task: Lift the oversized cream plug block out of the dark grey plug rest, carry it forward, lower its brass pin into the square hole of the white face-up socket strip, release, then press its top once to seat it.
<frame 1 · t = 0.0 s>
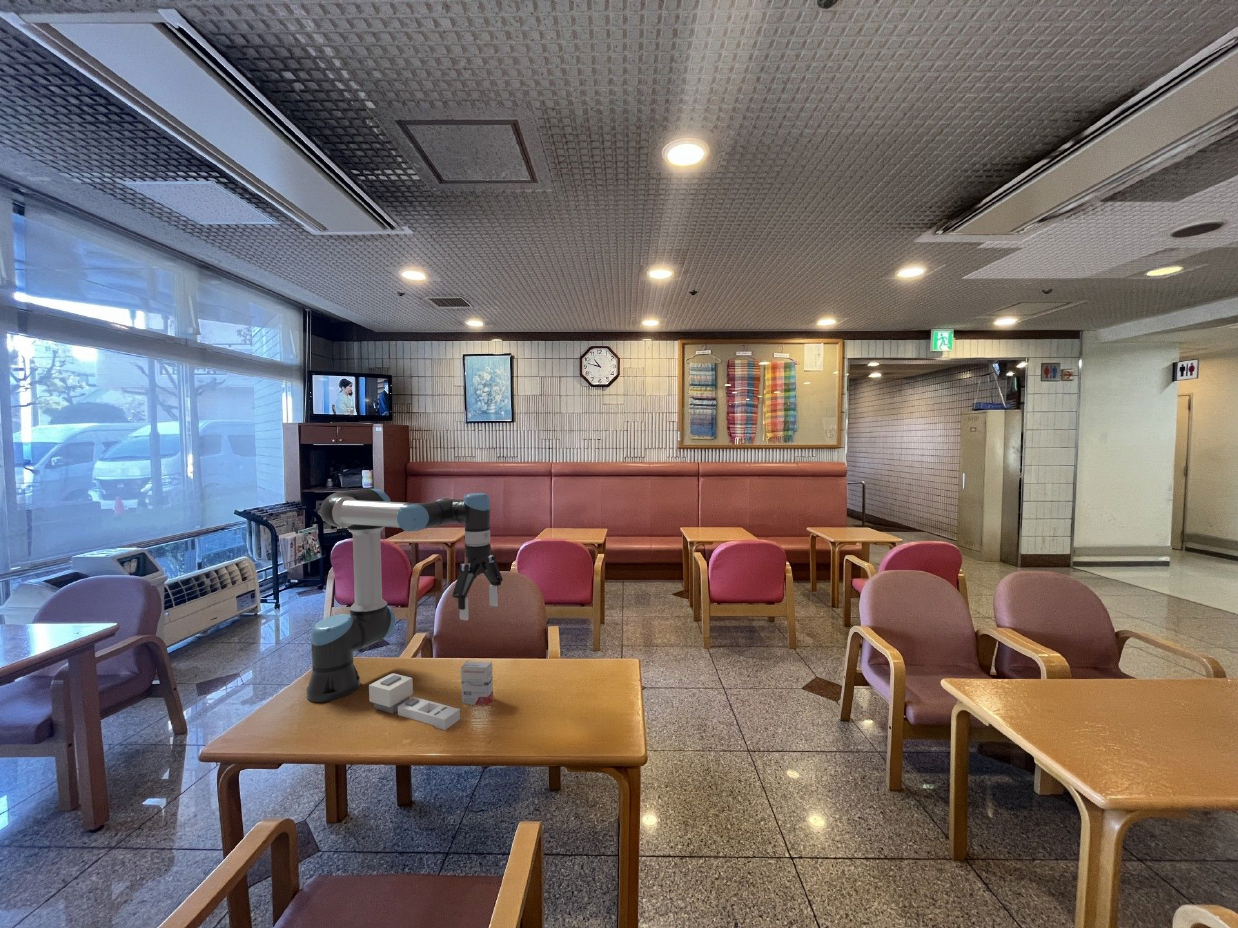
hand: (479, 612, 152), 28 cm above the table, fingers open, 13 cm apart
plug: (391, 705, 150), resting in plug rest
socket: (428, 717, 144), on the table
plug rest: (391, 707, 150), on the table
ink box: (477, 701, 153), on the table
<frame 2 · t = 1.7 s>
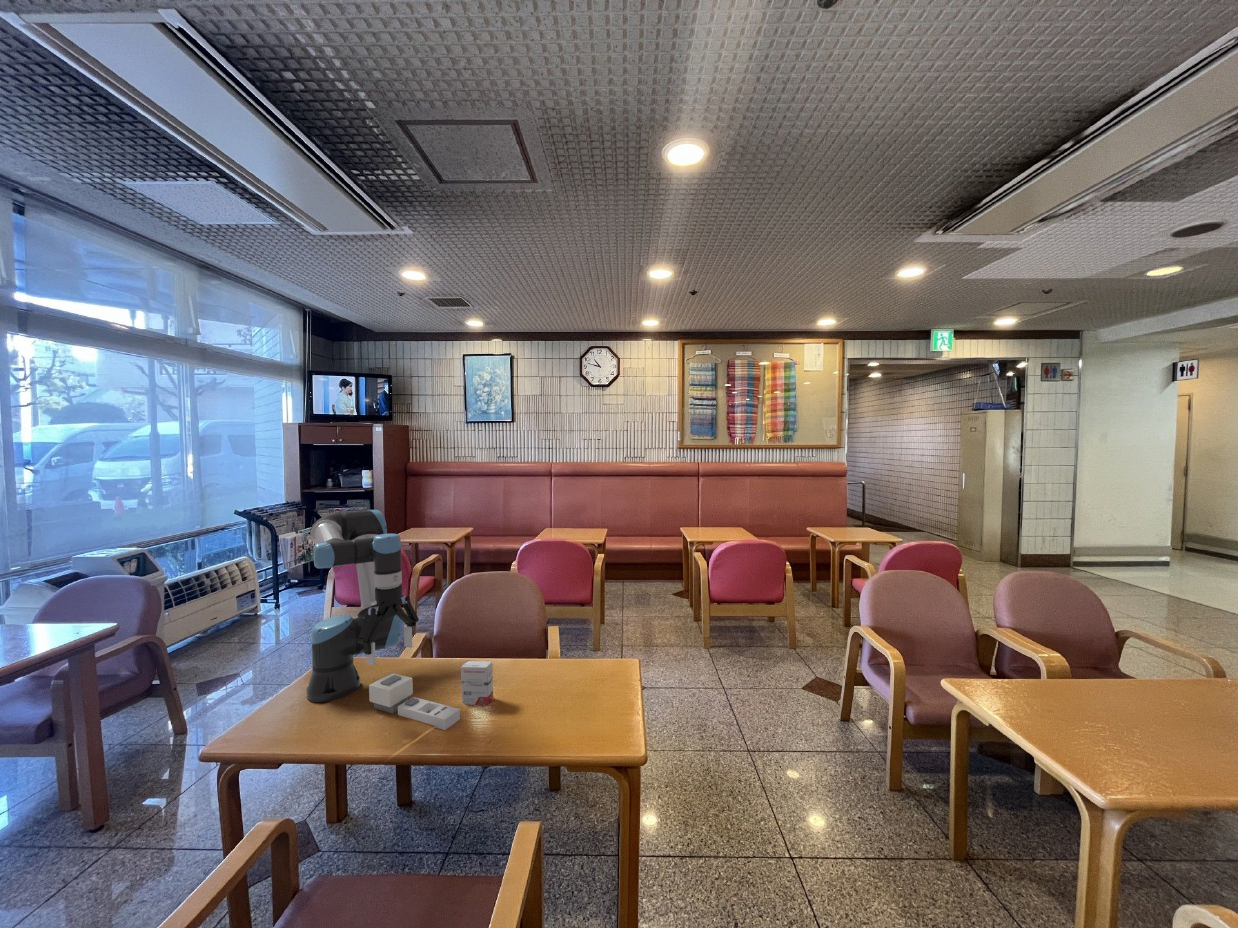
hand: (390, 655, 150), 16 cm above the table, fingers open, 13 cm apart
nothing on the table moved.
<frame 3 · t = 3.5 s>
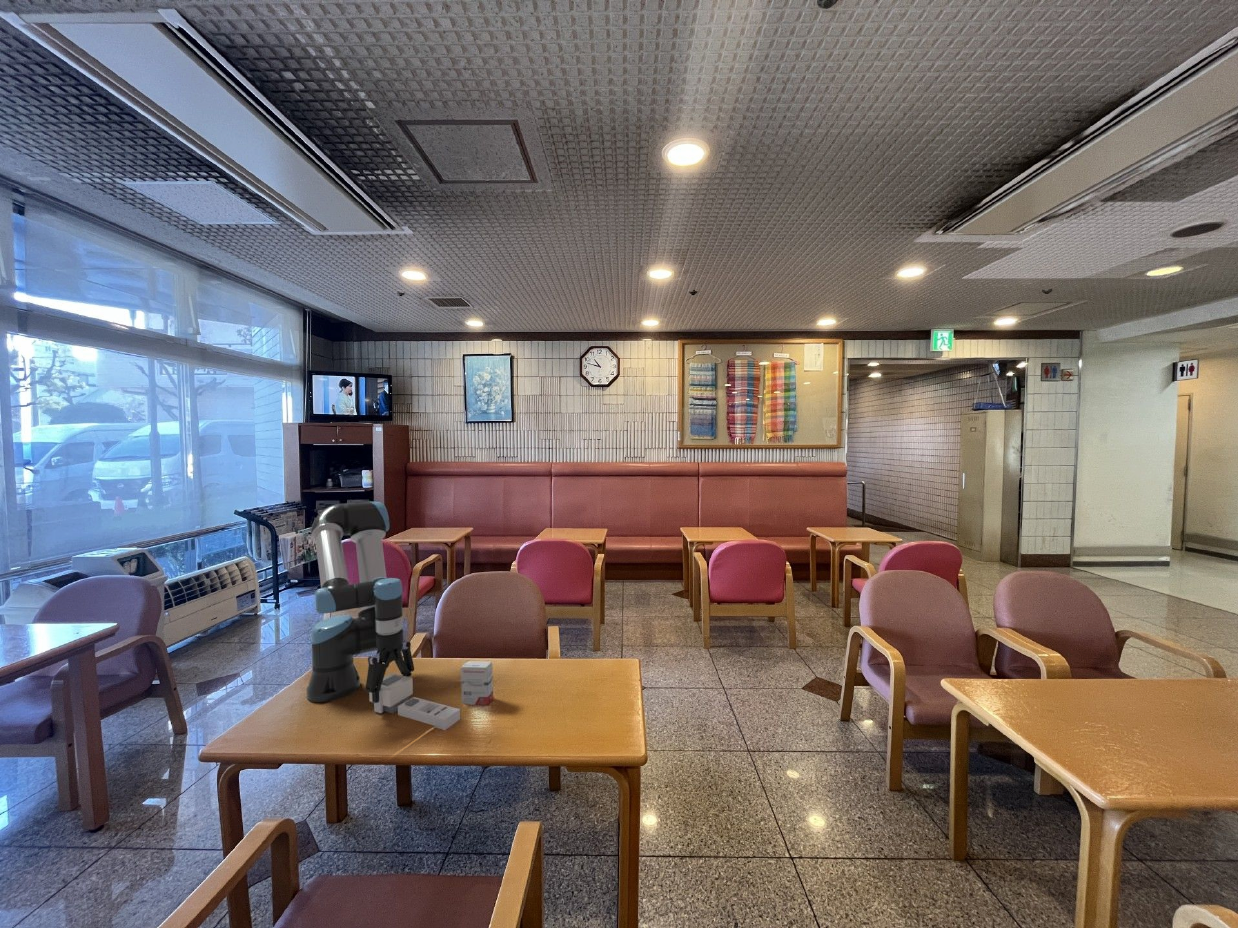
hand: (391, 704, 150), 1 cm above the table, fingers closed on plug, 8 cm apart
plug: (391, 705, 150), point 1 cm above the table, touching gripper, plug rest
everything else where it was.
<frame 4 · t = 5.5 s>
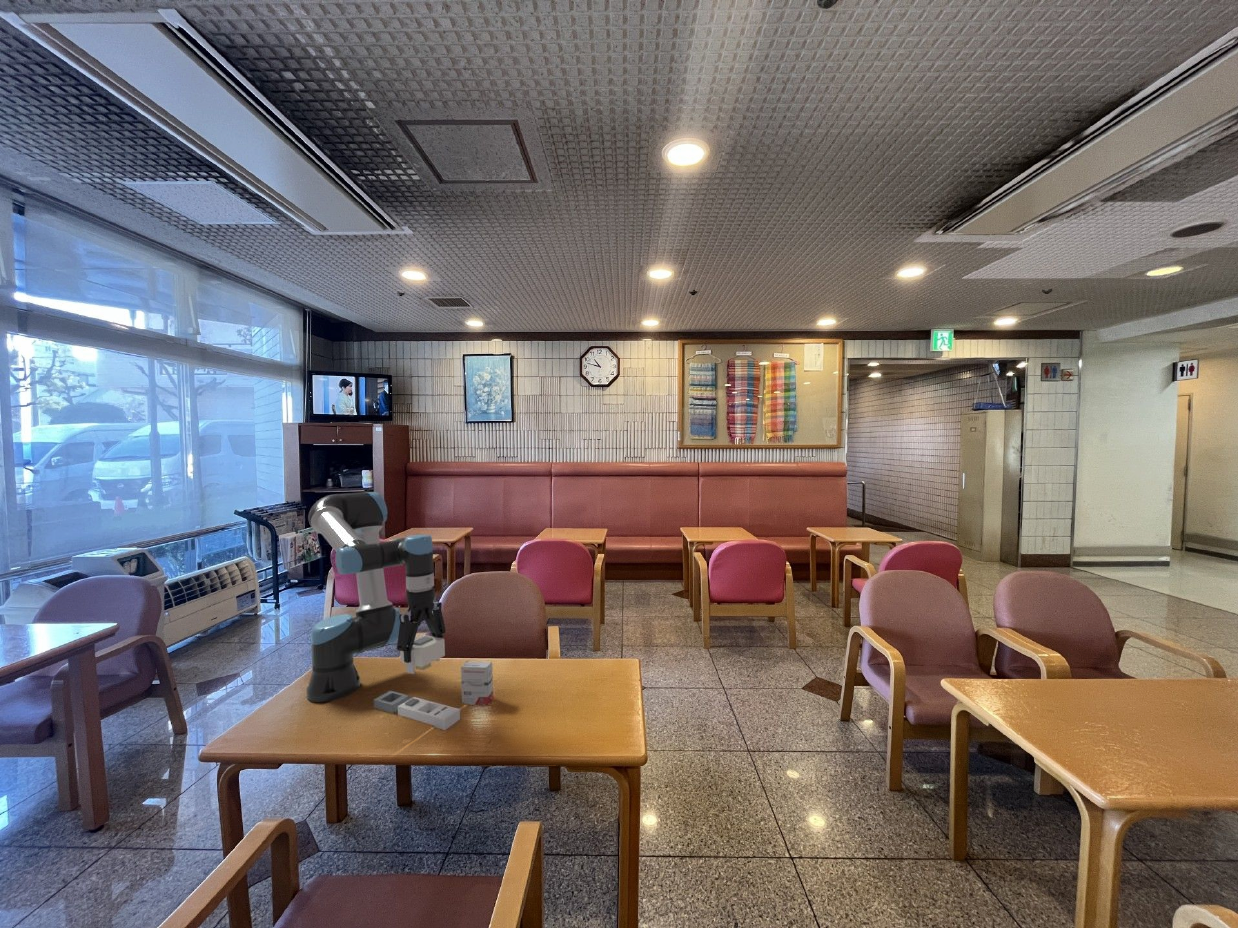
hand: (423, 665, 144), 15 cm above the table, fingers closed on plug, 8 cm apart
plug: (423, 667, 144), point 15 cm above the table, touching gripper
everything else where it was.
when the fingers open (2 cm above the table, at t = 7.7 s): plug drops 1 cm, resting on socket.
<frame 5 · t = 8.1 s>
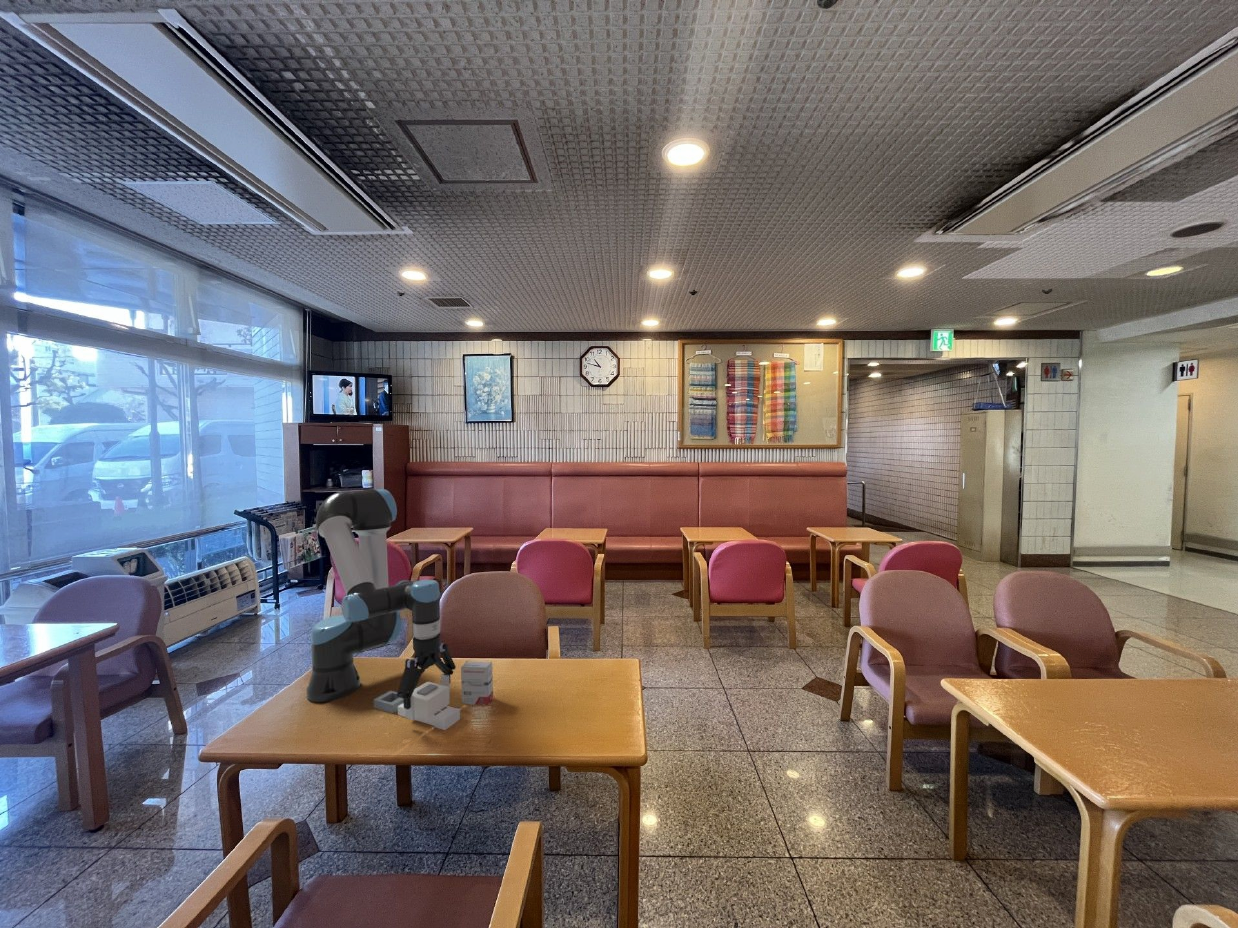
hand: (428, 706, 144), 3 cm above the table, fingers open, 13 cm apart
plug: (428, 715, 144), resting on socket
everything else where it was.
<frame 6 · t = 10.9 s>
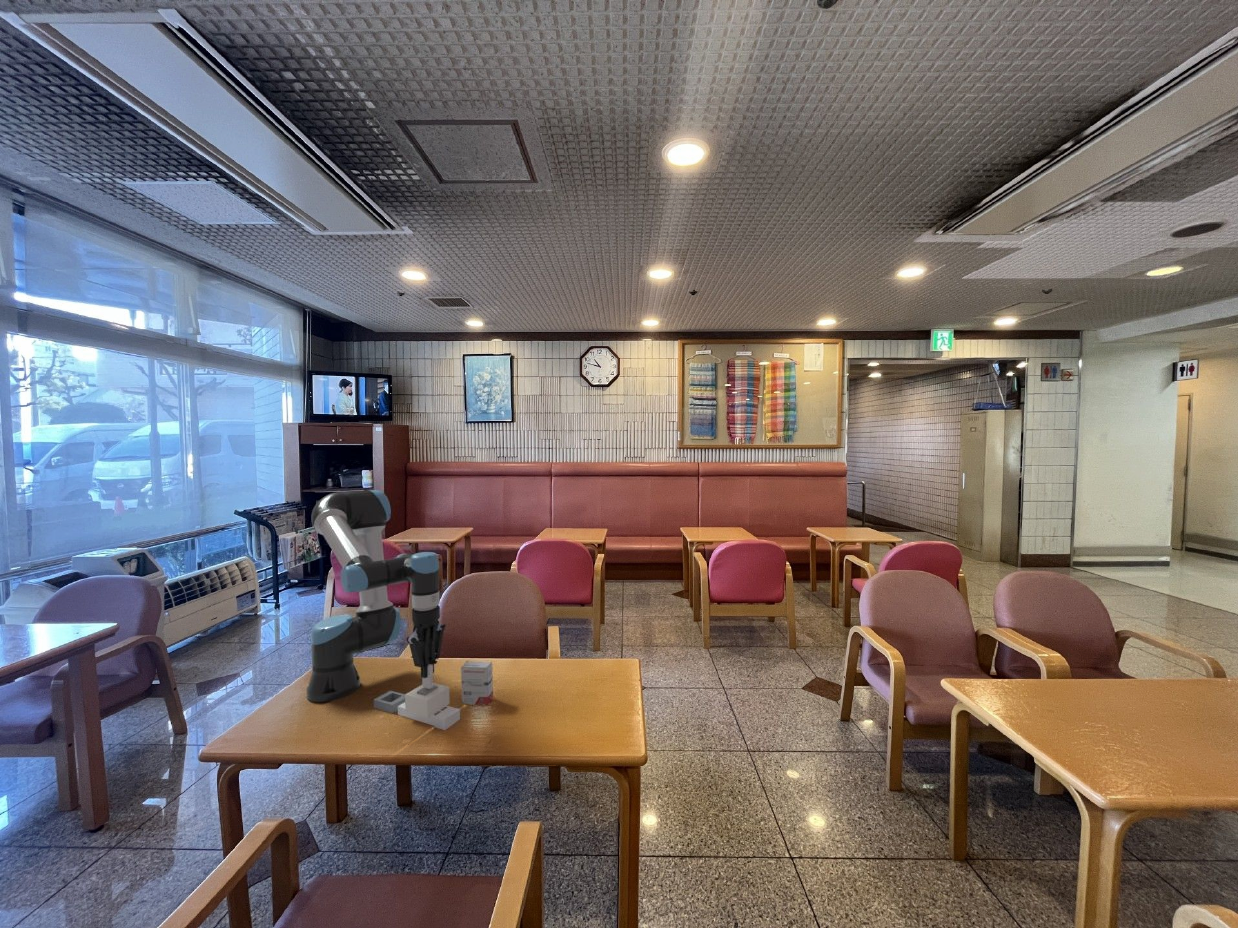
hand: (427, 686, 144), 9 cm above the table, fingers closed
nothing on the table moved.
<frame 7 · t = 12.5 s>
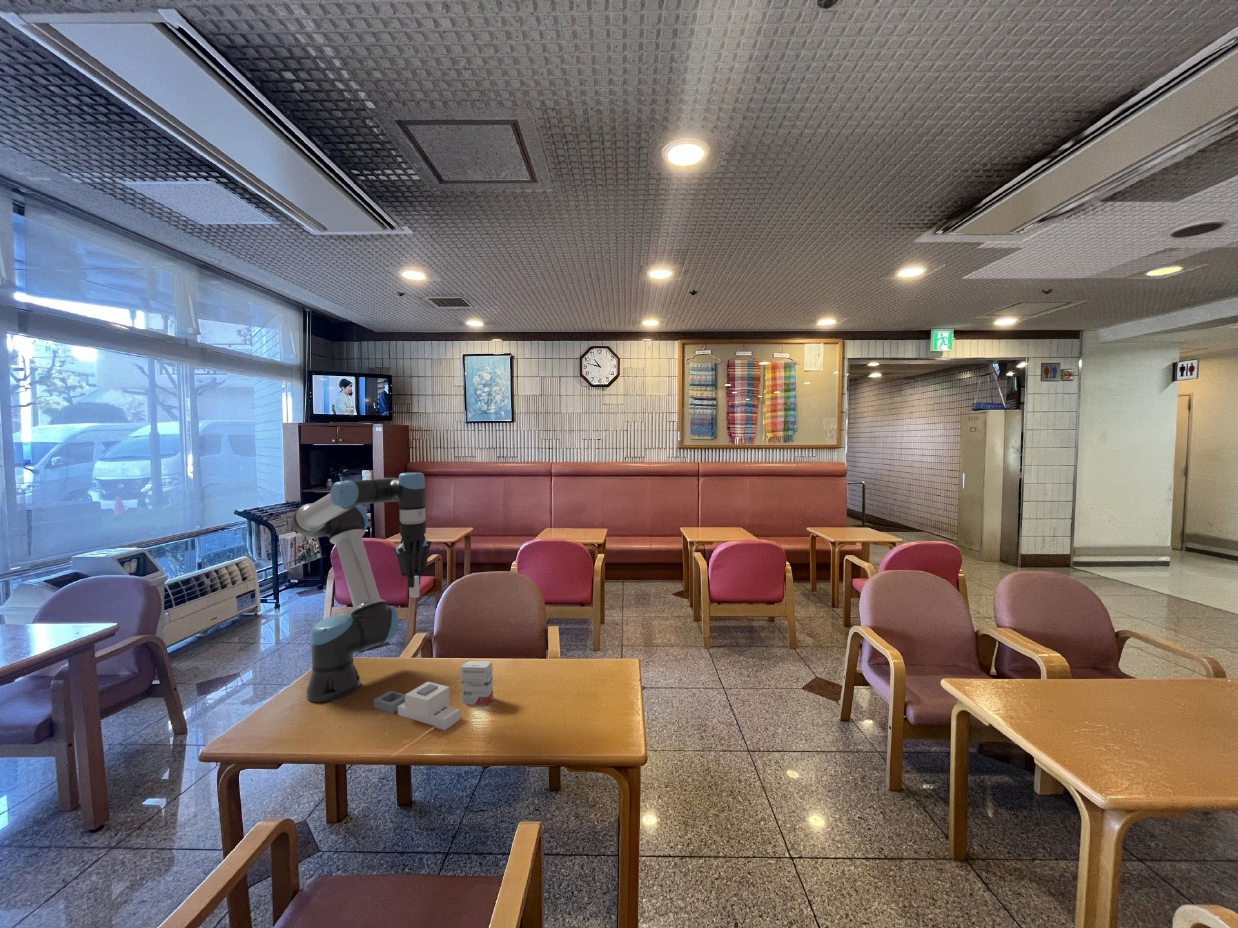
hand: (414, 596, 155), 32 cm above the table, fingers closed
nothing on the table moved.
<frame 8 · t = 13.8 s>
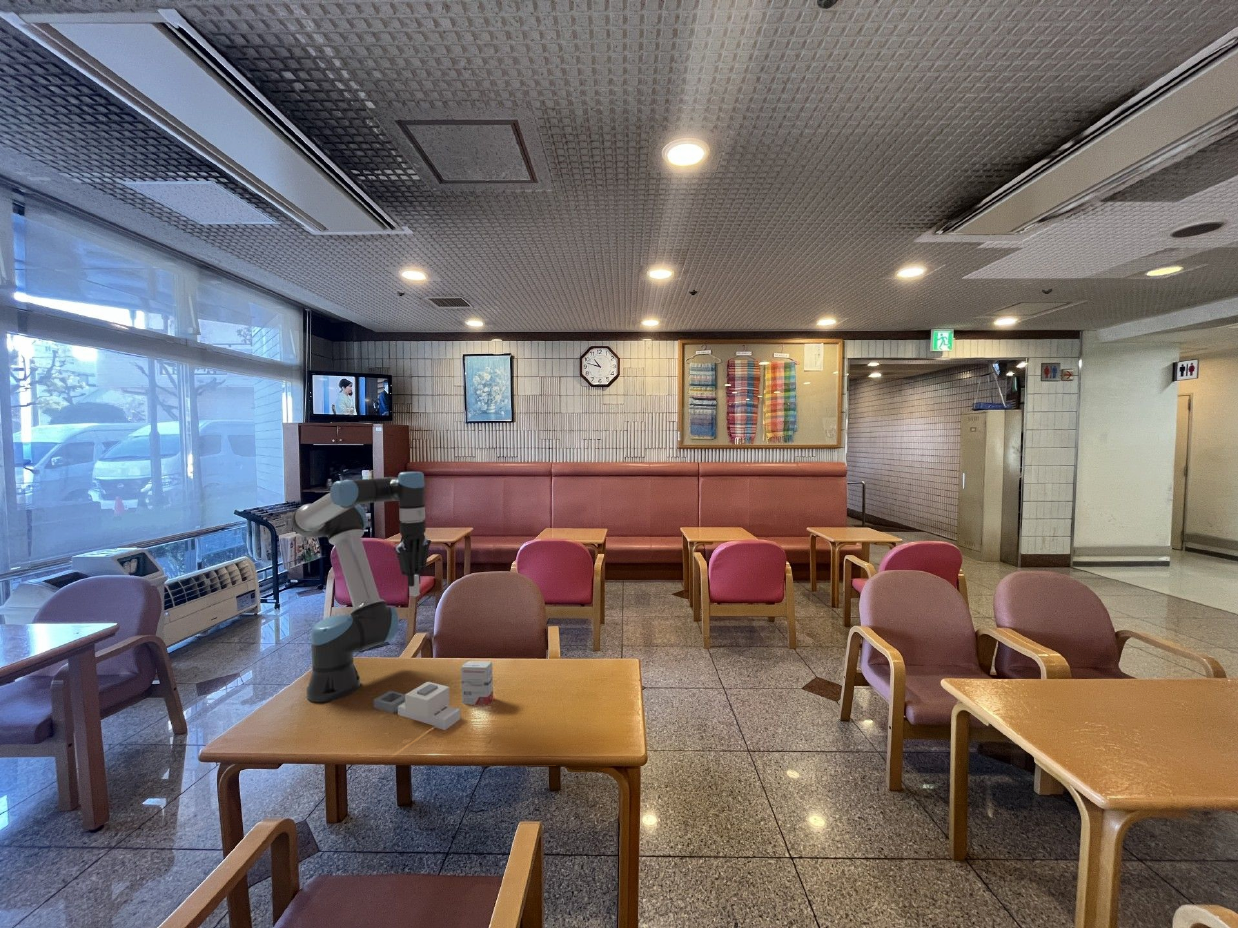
hand: (414, 595, 156), 32 cm above the table, fingers closed
nothing on the table moved.
at the end: plug 0.3 cm off-centre on the socket, point 0.5 cm above the socket's base; plug tilted 0°; the gripper is holding nothing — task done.
